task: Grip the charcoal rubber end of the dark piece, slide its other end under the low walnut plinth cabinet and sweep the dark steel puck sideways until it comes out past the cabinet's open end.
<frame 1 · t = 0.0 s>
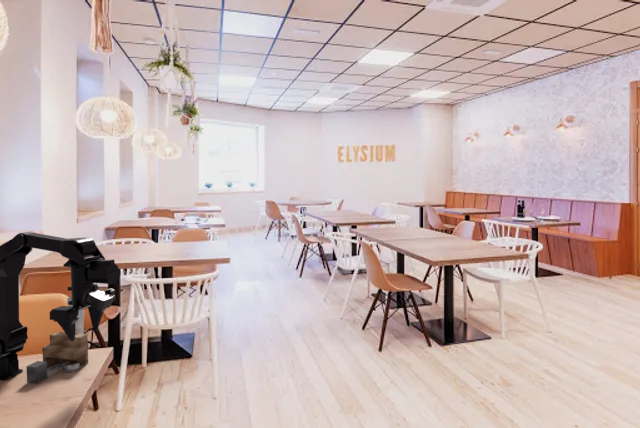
hand: (84, 335, 126), 15 cm above the table, fingers open, 9 cm apart
plinth cabinet: (66, 365, 140), on the table
steel token: (72, 370, 136), on the table
plastic bottle: (75, 356, 147), on the table
dark piece: (37, 380, 129), on the table
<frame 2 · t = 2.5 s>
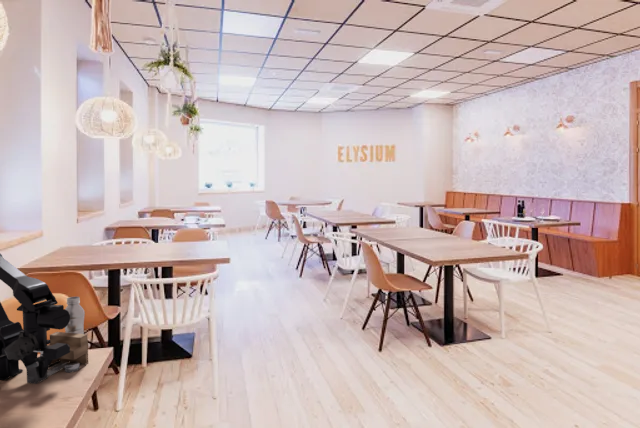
hand: (37, 377, 129), 1 cm above the table, fingers closed on dark piece, 3 cm apart
dark piece: (37, 380, 129), on the table, touching gripper
everything else where it was.
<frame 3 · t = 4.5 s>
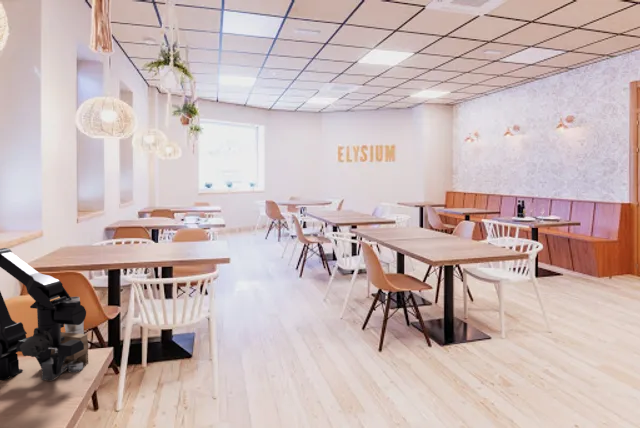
hand: (51, 373, 130), 2 cm above the table, fingers closed on dark piece, 3 cm apart
steel token: (75, 369, 136), on the table, touching dark piece
dark piece: (51, 377, 130), point 1 cm above the table, touching gripper, steel token
everything else where it was.
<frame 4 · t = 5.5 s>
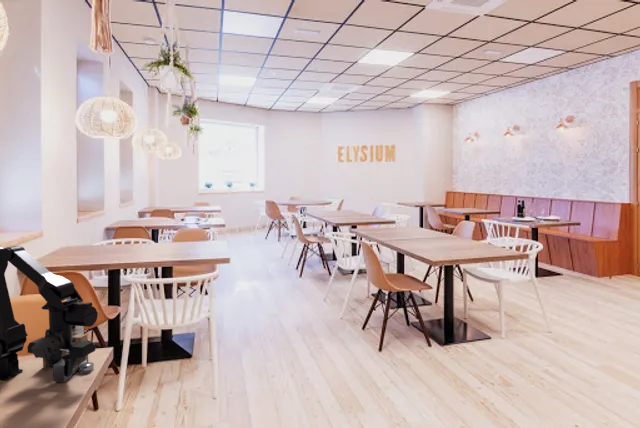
hand: (62, 375, 129), 2 cm above the table, fingers closed on dark piece, 3 cm apart
steel token: (86, 370, 136), on the table
dark piece: (62, 378, 129), on the table, touching gripper
everything else where it was.
when the fingers open (2 cm above the table, at t = 6.5 s): dark piece stays where it is, on the table.
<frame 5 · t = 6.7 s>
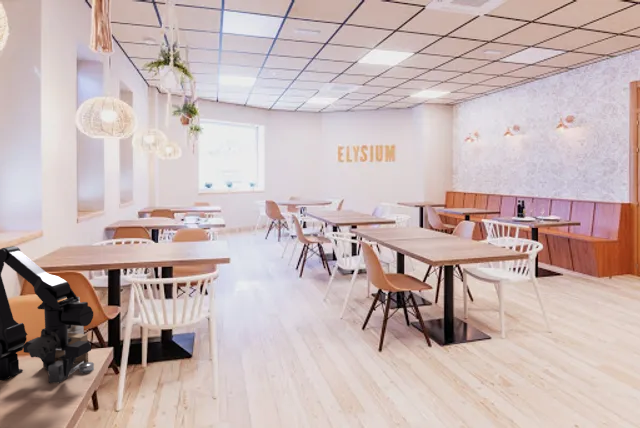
hand: (58, 374, 129), 2 cm above the table, fingers open, 5 cm apart
dark piece: (58, 379, 129), on the table
everything else where it was.
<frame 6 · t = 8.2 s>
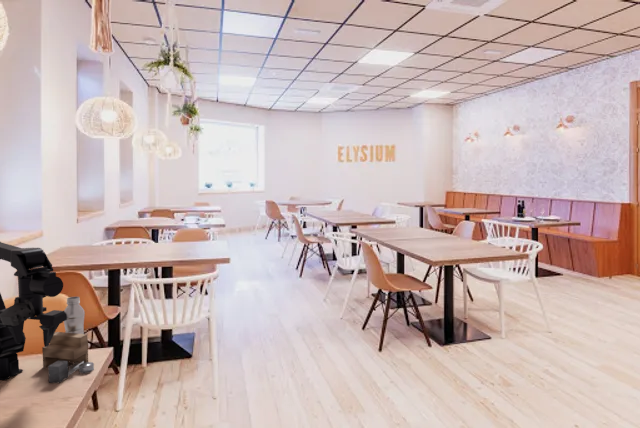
hand: (32, 344, 126), 12 cm above the table, fingers open, 9 cm apart
nothing on the table moved.
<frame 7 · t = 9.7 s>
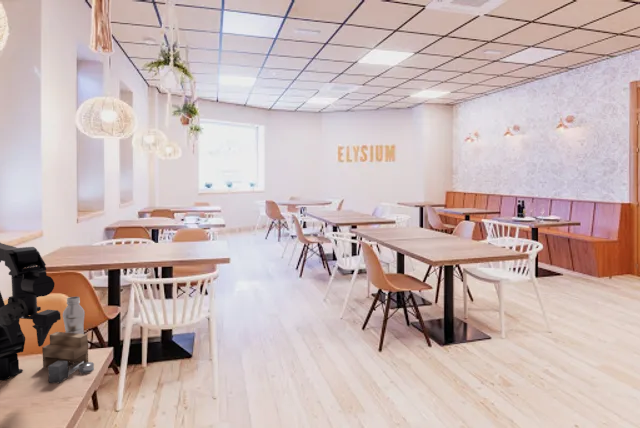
hand: (26, 344, 125), 12 cm above the table, fingers open, 9 cm apart
nothing on the table moved.
at the end: steel token inside the target area (3.9 cm from its centre), on the table; steel token moved 4.8 cm from its start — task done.
